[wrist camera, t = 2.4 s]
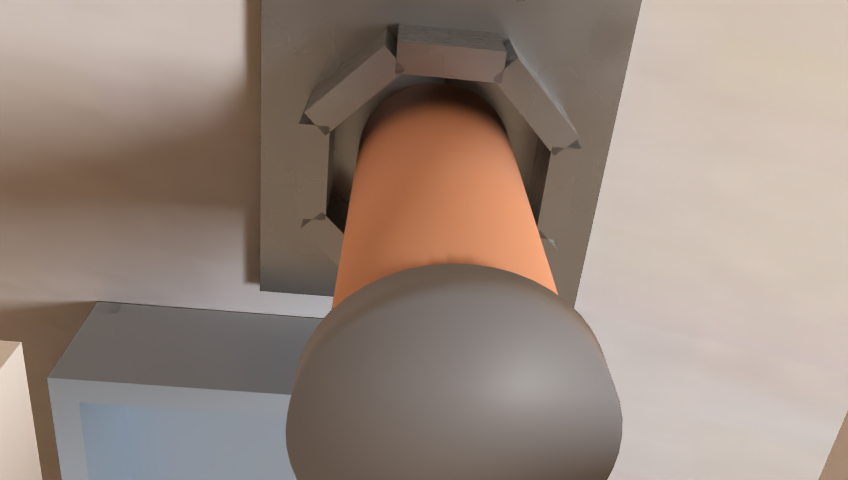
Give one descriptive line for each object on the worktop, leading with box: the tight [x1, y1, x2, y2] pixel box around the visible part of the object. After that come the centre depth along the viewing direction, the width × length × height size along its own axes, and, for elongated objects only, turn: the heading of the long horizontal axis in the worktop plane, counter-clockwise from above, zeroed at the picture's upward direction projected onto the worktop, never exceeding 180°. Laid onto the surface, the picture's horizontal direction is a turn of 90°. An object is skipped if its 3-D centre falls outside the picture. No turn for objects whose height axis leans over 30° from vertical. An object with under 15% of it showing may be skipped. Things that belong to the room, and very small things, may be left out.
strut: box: [285, 83, 622, 480], centre depth 18 cm, size 5×5×12 cm
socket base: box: [260, 0, 642, 308], centre depth 22 cm, size 10×10×2 cm
